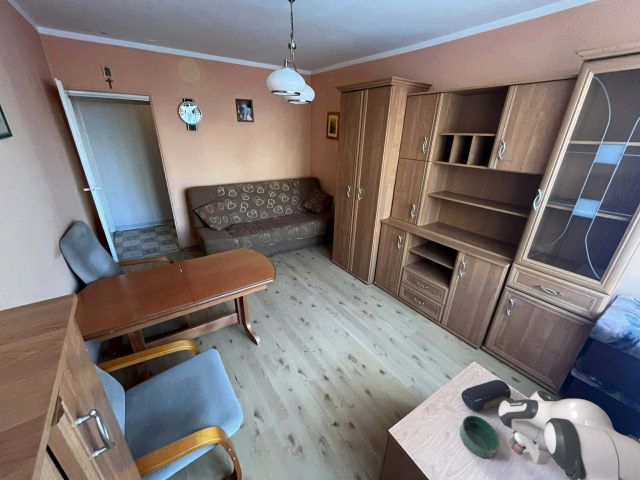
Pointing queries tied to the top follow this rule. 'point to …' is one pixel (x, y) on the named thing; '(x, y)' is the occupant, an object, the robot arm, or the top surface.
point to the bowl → (479, 436)
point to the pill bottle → (516, 444)
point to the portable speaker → (486, 395)
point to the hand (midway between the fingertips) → (519, 442)
